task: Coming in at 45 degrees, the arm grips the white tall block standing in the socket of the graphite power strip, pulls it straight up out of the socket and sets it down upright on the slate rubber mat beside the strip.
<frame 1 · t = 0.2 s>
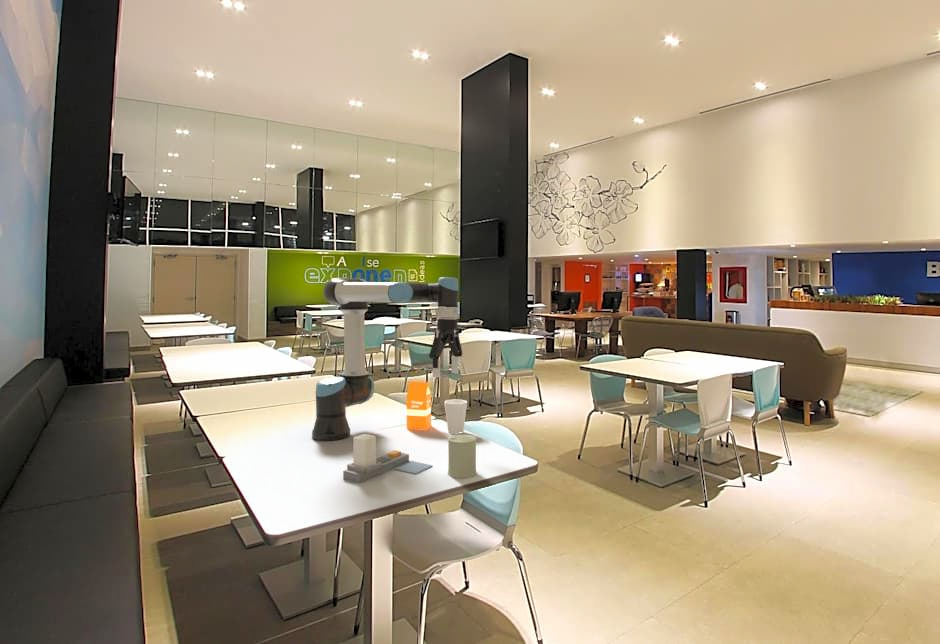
hand: (445, 375, 191), 28 cm above the table, tool pointing down, fingers open, 13 cm apart
mat: (413, 467, 169), on the table
foam cup: (455, 432, 214), on the table
white tall block: (364, 467, 162), point 2 cm above the table, touching strip
can: (462, 473, 164), on the table
orange juice: (419, 427, 221), on the table
strip: (377, 469, 168), on the table
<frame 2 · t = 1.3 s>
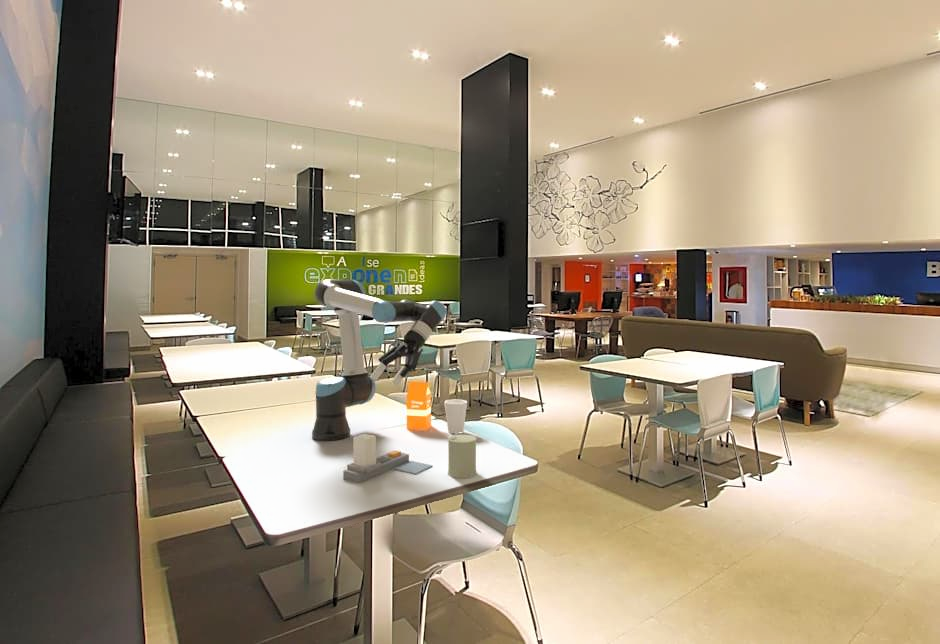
hand: (383, 381, 178), 28 cm above the table, tool tilted 45°, fingers open, 13 cm apart
nothing on the table moved.
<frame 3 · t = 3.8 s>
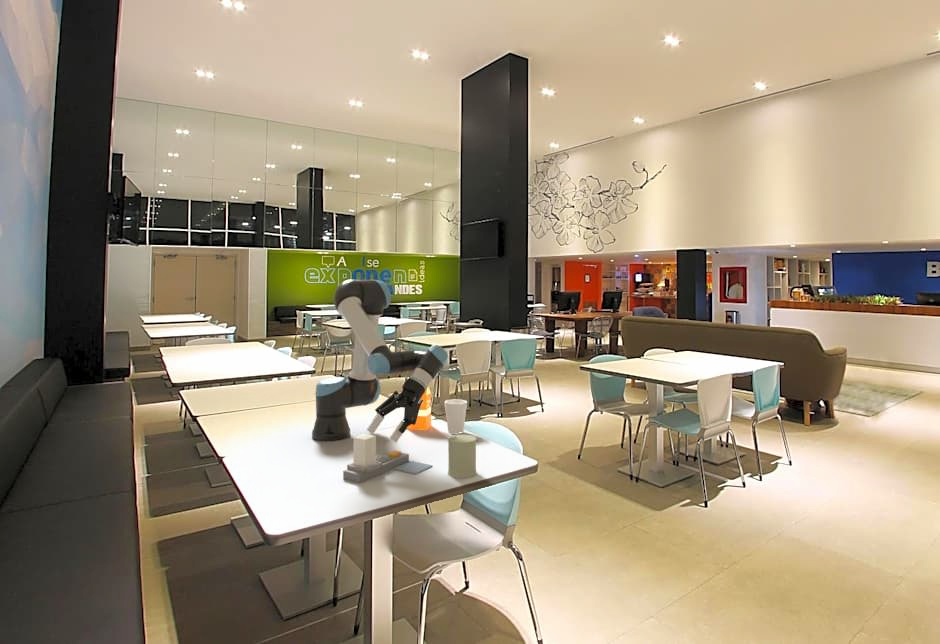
hand: (380, 436, 165), 12 cm above the table, tool tilted 45°, fingers open, 13 cm apart
nothing on the table moved.
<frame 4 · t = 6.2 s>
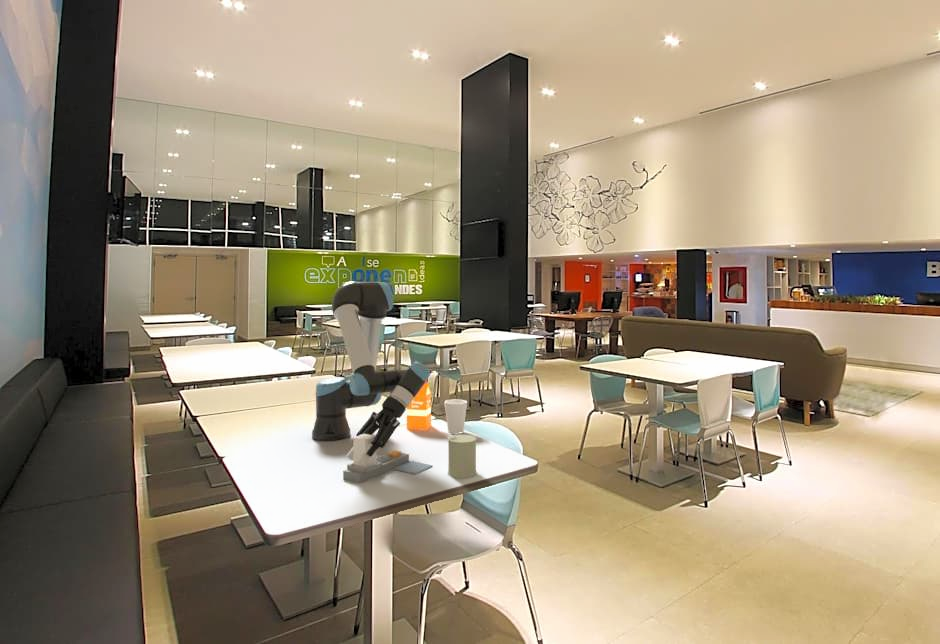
hand: (354, 461, 160), 5 cm above the table, tool tilted 45°, fingers closed on white tall block, 6 cm apart
white tall block: (364, 467, 162), point 3 cm above the table, touching gripper, strip
everything else where it was.
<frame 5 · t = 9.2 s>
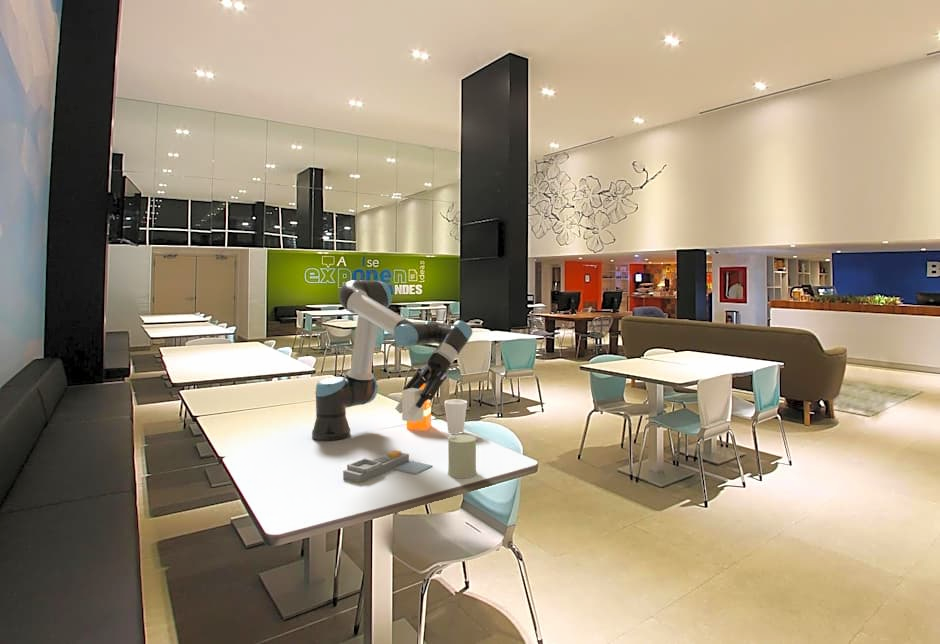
hand: (404, 412, 166), 19 cm above the table, tool tilted 45°, fingers closed on white tall block, 6 cm apart
white tall block: (412, 419, 168), point 16 cm above the table, touching gripper
everything else where it was.
when the fingers open (5 cm above the table, at t = 12.1 s): white tall block drops 2 cm, resting on mat.
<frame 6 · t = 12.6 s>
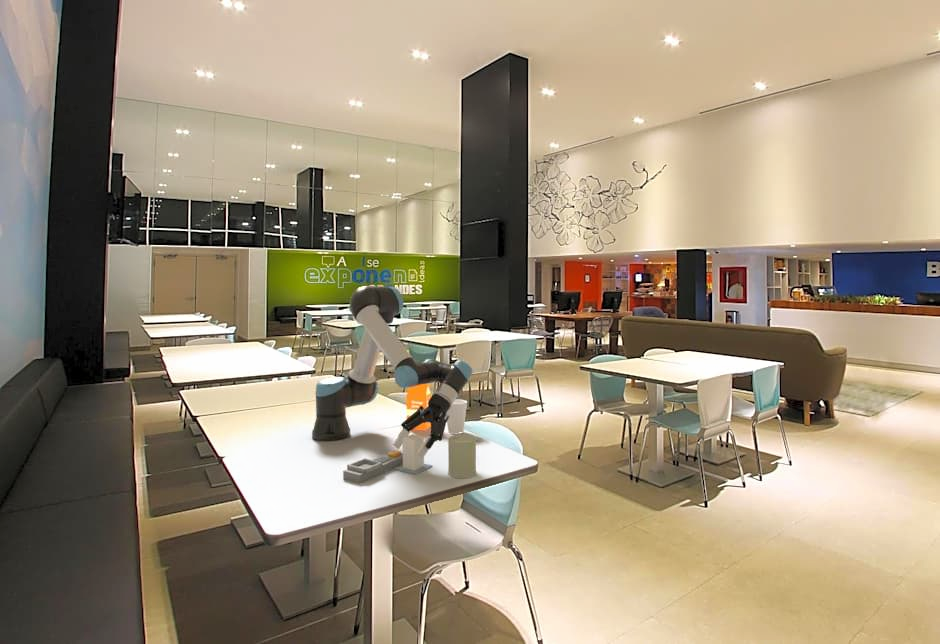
hand: (407, 451, 167), 6 cm above the table, tool tilted 45°, fingers open, 13 cm apart
white tall block: (413, 466, 169), resting on mat
everything else where it was.
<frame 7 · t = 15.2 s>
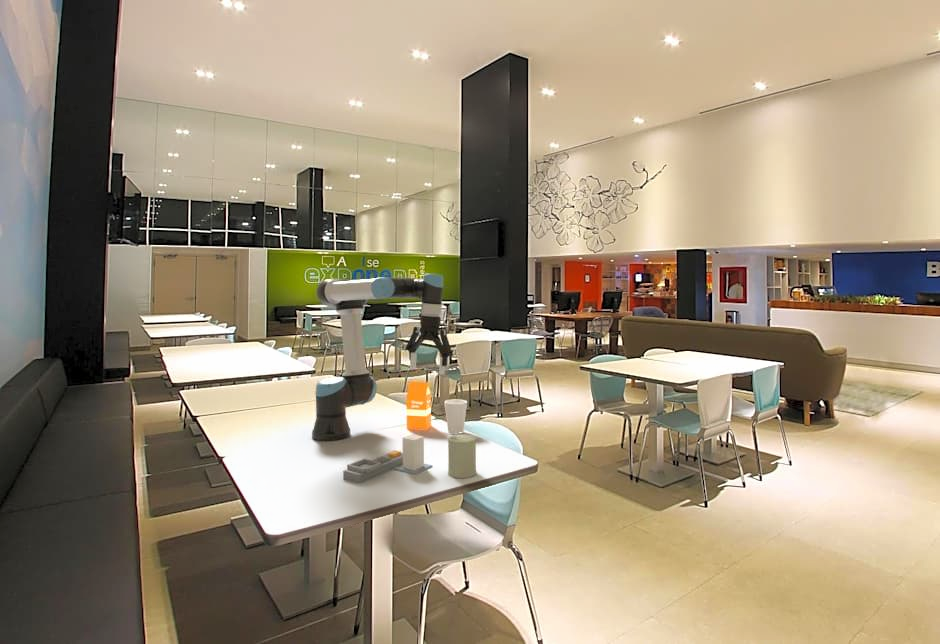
hand: (427, 372, 189), 29 cm above the table, tool pointing down, fingers open, 13 cm apart
nothing on the table moved.
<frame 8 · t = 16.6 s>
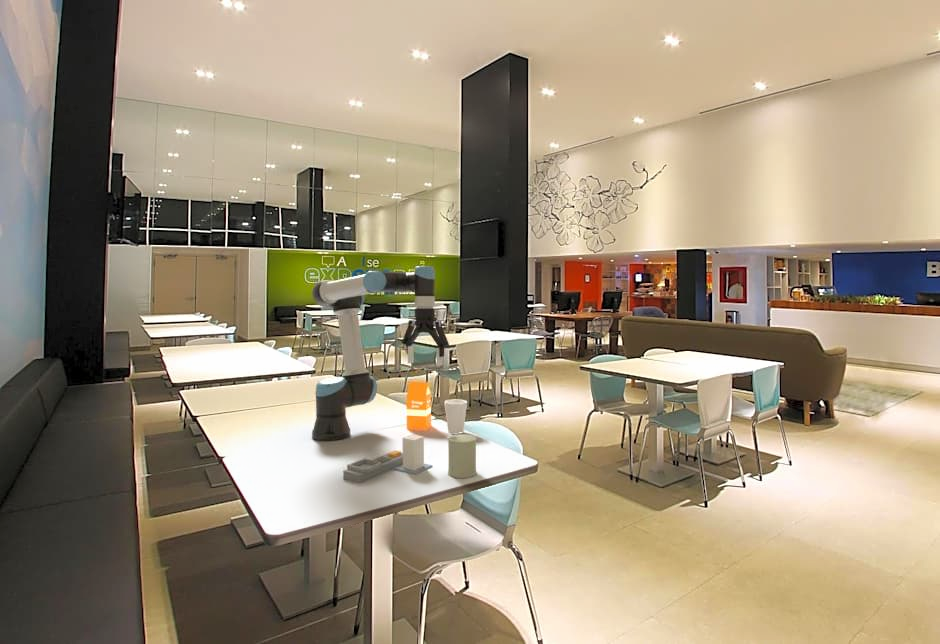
hand: (424, 364, 190), 32 cm above the table, tool pointing down, fingers open, 13 cm apart
nothing on the table moved.
at the end: white tall block inside the target area on the mat (0.0 cm from its centre), point 0.4 cm above the mat's base; white tall block tilted 0°; the gripper is holding nothing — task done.
